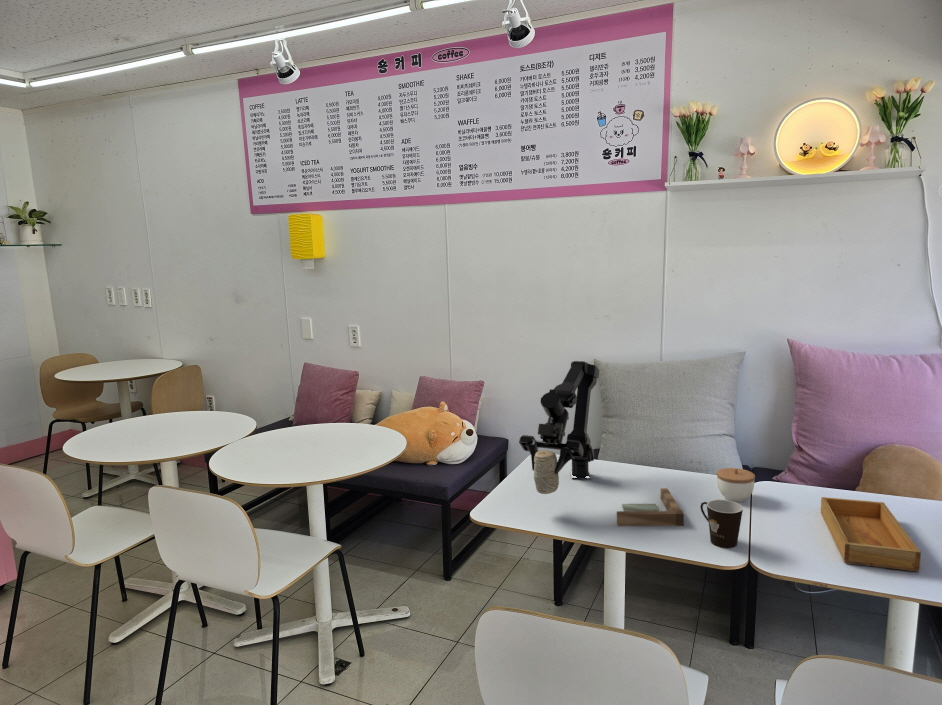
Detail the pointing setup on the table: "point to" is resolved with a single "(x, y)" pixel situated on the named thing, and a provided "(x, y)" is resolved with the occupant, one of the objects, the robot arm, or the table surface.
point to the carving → (545, 472)
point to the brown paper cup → (723, 522)
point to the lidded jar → (735, 483)
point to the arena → (652, 513)
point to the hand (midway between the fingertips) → (544, 471)
